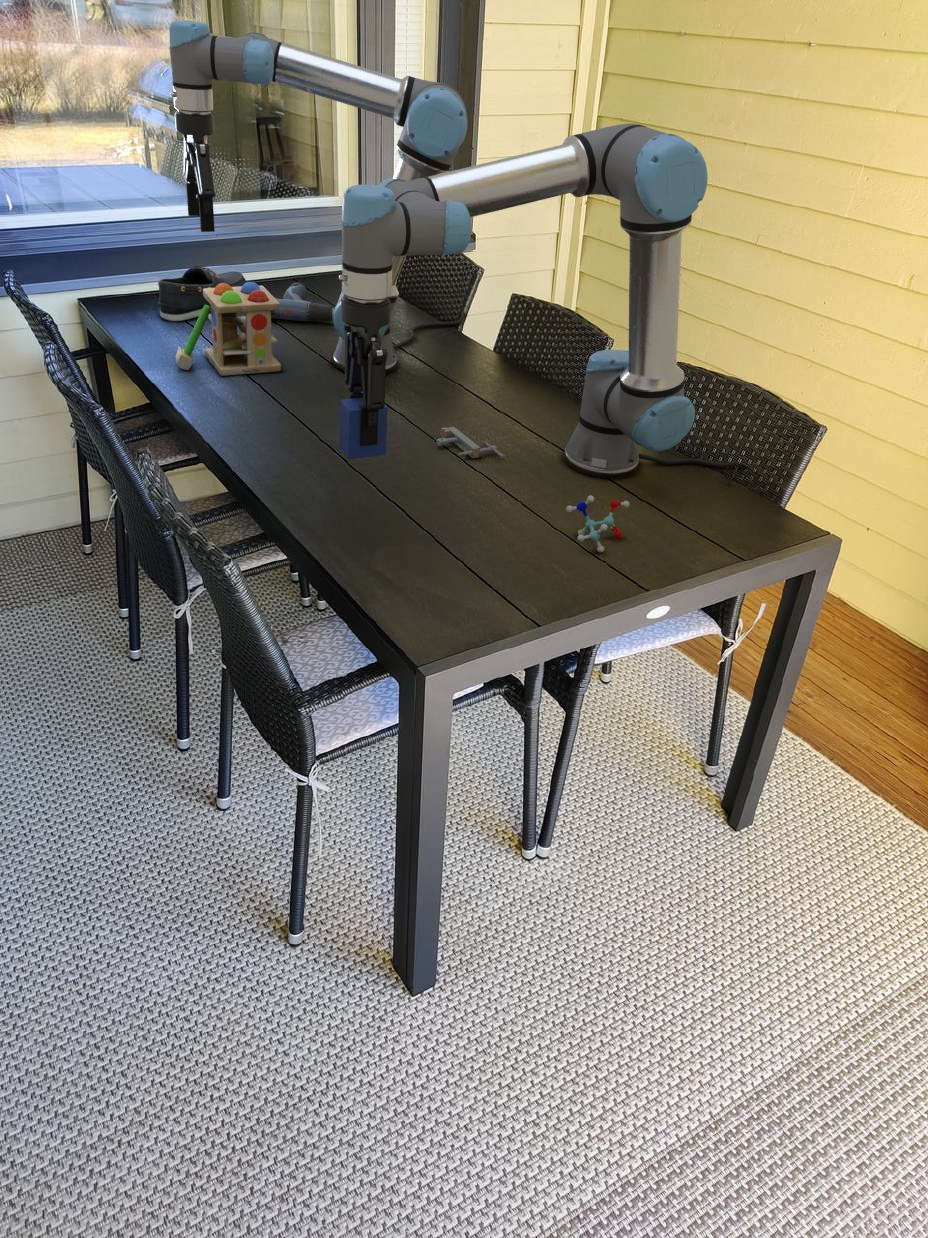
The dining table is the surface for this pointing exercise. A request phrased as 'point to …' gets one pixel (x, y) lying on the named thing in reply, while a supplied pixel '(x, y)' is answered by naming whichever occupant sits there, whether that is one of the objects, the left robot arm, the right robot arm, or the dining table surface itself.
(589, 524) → the molecular model
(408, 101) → the left robot arm
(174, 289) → the boat shoe
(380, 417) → the block
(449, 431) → the clamp
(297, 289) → the power drill
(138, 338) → the dining table surface
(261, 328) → the pounding bench toy
